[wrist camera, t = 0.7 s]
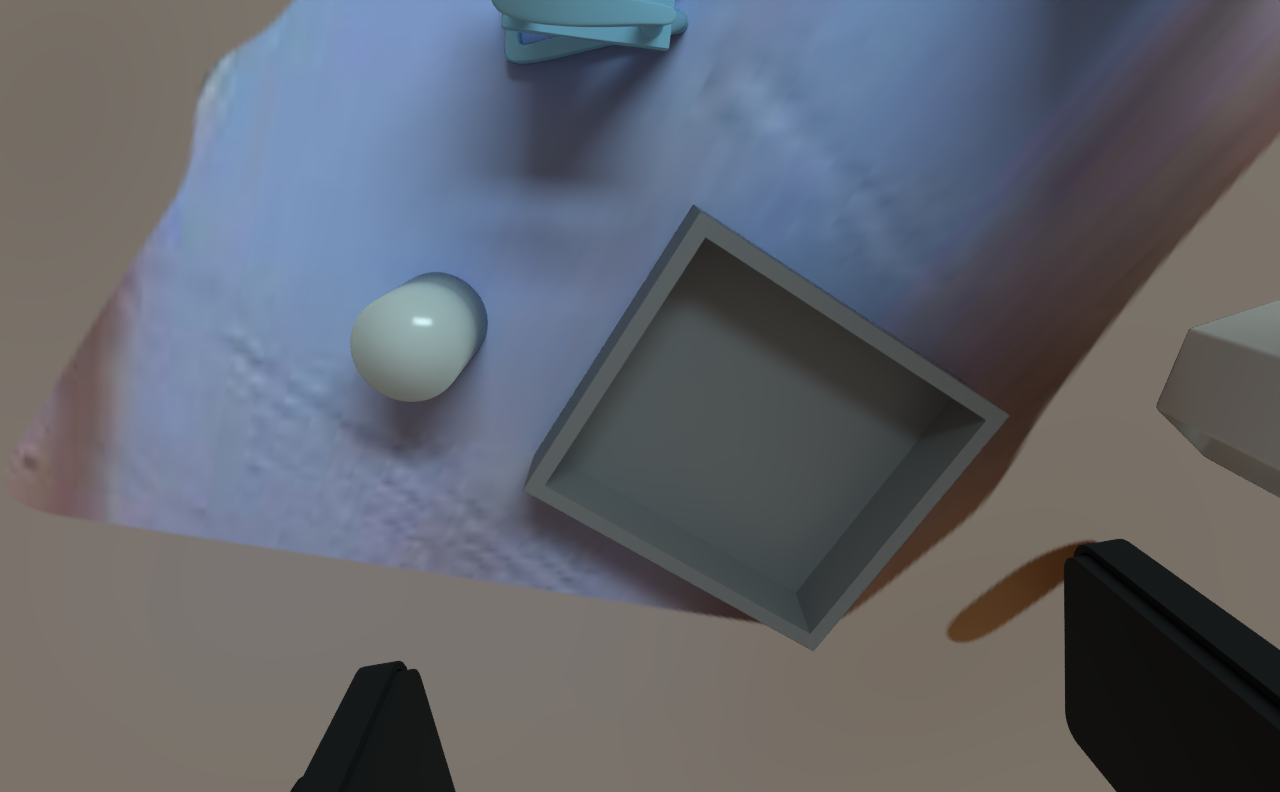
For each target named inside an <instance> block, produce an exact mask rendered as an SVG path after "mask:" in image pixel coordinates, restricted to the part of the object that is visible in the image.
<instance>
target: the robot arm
mask: <svg viewBox="0 0 1280 792" xmlns="http://www.w3.org/2000/svg"><path fill="white" fill-rule="evenodd" d="M1064 612H1065V613H1064V614H1065V615H1064V618H1065V714H1066V720H1067V724H1068V727H1069V729H1070V732H1071V734H1072V735H1073V738H1074V739H1075V741H1076V742H1077V744H1078V745H1079V746H1080V747H1081V749H1082V750H1083V751H1084V752H1085V753H1086V755H1087V756H1088V757H1089V758H1090V760H1091V761H1092V762H1093V763H1094V765H1095V766H1096V767H1097V768H1098V769H1099V771H1100V772H1101V773H1102V774H1103V776H1104V777H1105V778H1106V779H1107V780H1108V782H1109V783H1110V784H1111V785H1112V787H1113V788H1114V789H1115V790H1116V792H1280V650H1279V649H1278V648H1276V647H1275V646H1273V645H1272V644H1271V643H1269V642H1268V641H1266V640H1265V639H1264V638H1262V637H1261V636H1259V635H1258V634H1257V633H1255V632H1254V631H1253V630H1251V629H1250V628H1248V627H1247V626H1246V625H1244V624H1243V623H1241V622H1240V621H1239V620H1237V619H1236V618H1234V617H1233V616H1232V615H1230V614H1229V613H1227V612H1226V611H1225V610H1223V609H1222V608H1220V607H1219V606H1218V605H1216V604H1215V603H1213V602H1212V601H1210V600H1209V599H1208V598H1206V597H1205V596H1204V595H1202V594H1201V593H1199V592H1198V591H1197V590H1195V589H1194V588H1192V587H1191V586H1190V585H1188V584H1187V583H1186V582H1184V581H1183V580H1181V579H1180V578H1179V577H1177V576H1176V575H1174V574H1173V573H1172V572H1170V571H1169V570H1167V569H1166V568H1165V567H1163V566H1162V565H1160V564H1159V563H1158V562H1156V561H1155V560H1153V559H1152V558H1151V557H1149V556H1148V555H1146V554H1145V553H1144V552H1142V551H1141V550H1139V549H1138V548H1137V547H1135V546H1134V545H1132V544H1131V543H1130V542H1128V541H1126V540H1124V539H1115V540H1109V541H1104V542H1097V543H1092V544H1086V545H1080V546H1079V547H1077V548H1076V550H1075V553H1074V557H1072V558H1068V559H1067V560H1066V562H1065V565H1064ZM291 792H455V788H454V785H453V782H452V778H451V775H450V772H449V768H448V765H447V762H446V759H445V755H444V752H443V749H442V746H441V742H440V739H439V736H438V732H437V729H436V726H435V722H434V719H433V716H432V712H431V709H430V706H429V702H428V699H427V696H426V693H425V689H424V686H423V682H422V679H421V676H420V674H419V672H418V671H417V670H416V669H410V670H407V667H406V666H405V665H404V663H403V662H401V661H395V662H389V663H383V664H377V665H371V666H365V667H362V668H360V669H359V670H358V671H357V673H356V674H355V676H354V678H353V680H352V682H351V684H350V686H349V688H348V690H347V692H346V694H345V696H344V698H343V700H342V702H341V704H340V705H339V708H338V710H337V711H336V713H335V715H334V717H333V719H332V721H331V723H330V725H329V727H328V729H327V731H326V733H325V735H324V737H323V739H322V741H321V742H320V744H319V747H318V748H317V750H316V752H315V754H314V756H313V758H312V760H311V762H310V764H309V766H308V768H307V770H306V772H305V774H304V776H303V777H301V778H300V779H298V781H297V782H296V784H295V785H294V787H293V788H292V790H291Z"/></svg>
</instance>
